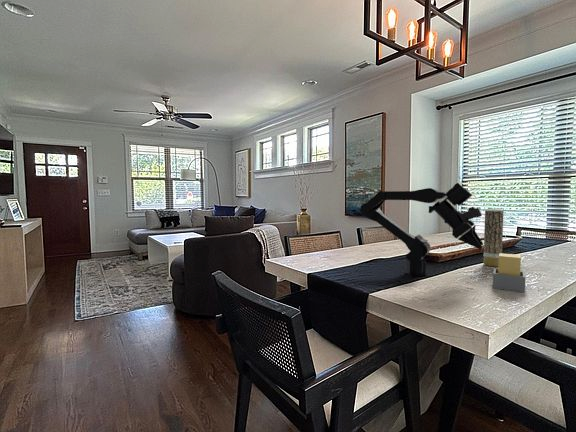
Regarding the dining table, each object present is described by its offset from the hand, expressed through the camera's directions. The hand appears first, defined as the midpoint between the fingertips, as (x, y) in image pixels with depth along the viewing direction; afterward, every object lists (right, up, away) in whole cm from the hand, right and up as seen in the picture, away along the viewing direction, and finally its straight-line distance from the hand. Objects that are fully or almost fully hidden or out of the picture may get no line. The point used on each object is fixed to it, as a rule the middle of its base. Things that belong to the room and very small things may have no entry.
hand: (481, 246), depth 111 cm
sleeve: (+7, -14, -4) cm, 16 cm away
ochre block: (+7, -14, -4) cm, 16 cm away
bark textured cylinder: (+22, -11, +28) cm, 37 cm away
